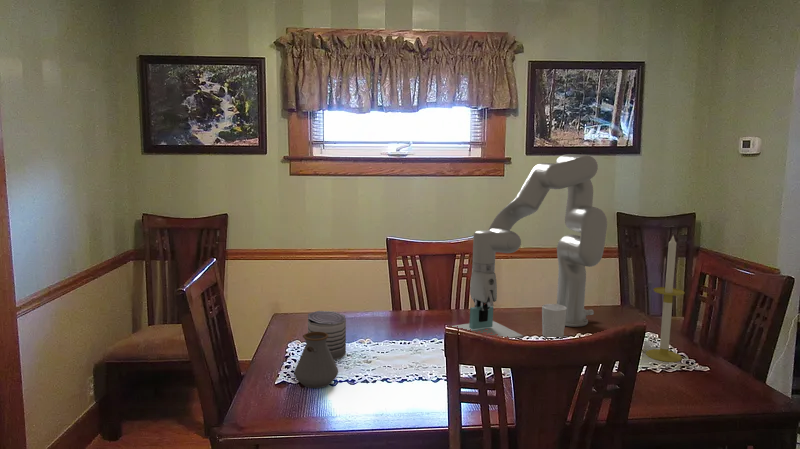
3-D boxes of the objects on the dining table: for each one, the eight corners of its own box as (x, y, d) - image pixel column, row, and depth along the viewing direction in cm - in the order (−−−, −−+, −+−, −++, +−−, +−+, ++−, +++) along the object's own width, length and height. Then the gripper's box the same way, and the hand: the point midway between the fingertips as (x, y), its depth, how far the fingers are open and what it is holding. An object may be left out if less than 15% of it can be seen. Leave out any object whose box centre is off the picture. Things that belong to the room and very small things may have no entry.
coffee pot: (298, 373, 158) (297, 320, 156) (340, 373, 158) (340, 320, 156) (284, 408, 137) (283, 348, 135) (332, 409, 137) (332, 348, 135)
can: (323, 344, 181) (323, 307, 179) (353, 352, 175) (353, 313, 173) (299, 356, 171) (299, 317, 169) (330, 364, 165) (330, 323, 163)
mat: (491, 321, 206) (491, 320, 206) (522, 337, 190) (522, 335, 190) (445, 328, 198) (445, 326, 198) (474, 345, 182) (474, 343, 182)
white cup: (567, 340, 188) (569, 310, 186) (543, 339, 188) (545, 310, 187) (561, 332, 196) (563, 303, 194) (538, 332, 196) (539, 303, 194)
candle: (685, 363, 169) (696, 237, 164) (649, 360, 171) (659, 235, 166) (676, 351, 179) (686, 232, 174) (642, 348, 181) (651, 230, 176)
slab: (489, 325, 199) (490, 305, 198) (492, 326, 197) (493, 307, 196) (469, 327, 195) (470, 307, 194) (472, 329, 193) (473, 309, 193)
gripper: (506, 271, 188) (504, 325, 190) (480, 262, 202) (477, 313, 204) (487, 273, 185) (484, 328, 187) (461, 263, 199) (459, 315, 201)
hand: (481, 320), depth 196 cm, fingers closed on slab, 1 cm apart
